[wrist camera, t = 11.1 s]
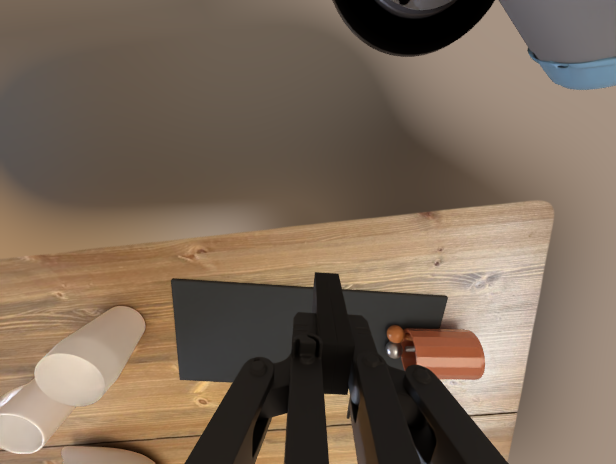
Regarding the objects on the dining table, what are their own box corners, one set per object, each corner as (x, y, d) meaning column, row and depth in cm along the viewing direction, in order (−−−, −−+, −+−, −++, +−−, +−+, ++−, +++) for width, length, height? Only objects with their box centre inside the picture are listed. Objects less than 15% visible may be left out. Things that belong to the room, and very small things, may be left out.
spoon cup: (477, 326, 44) (412, 325, 44) (490, 380, 41) (419, 379, 41) (454, 332, 50) (398, 331, 50) (464, 379, 47) (403, 378, 47)
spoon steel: (462, 334, 47) (384, 337, 48) (469, 351, 44) (387, 353, 46) (459, 343, 48) (383, 345, 50) (465, 359, 46) (386, 361, 48)
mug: (31, 393, 53) (-31, 452, 43) (18, 357, 50) (-51, 412, 40) (97, 395, 53) (50, 455, 43) (88, 360, 50) (36, 414, 41)
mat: (446, 295, 47) (448, 297, 46) (421, 389, 53) (422, 392, 53) (172, 278, 45) (170, 280, 45) (181, 377, 52) (179, 379, 51)
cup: (154, 347, 50) (109, 410, 38) (100, 341, 49) (38, 403, 38) (152, 302, 47) (103, 356, 35) (95, 295, 46) (27, 348, 35)
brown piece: (463, 352, 46) (393, 335, 45) (453, 360, 48) (385, 344, 46) (457, 336, 49) (390, 319, 47) (447, 345, 50) (382, 329, 49)
